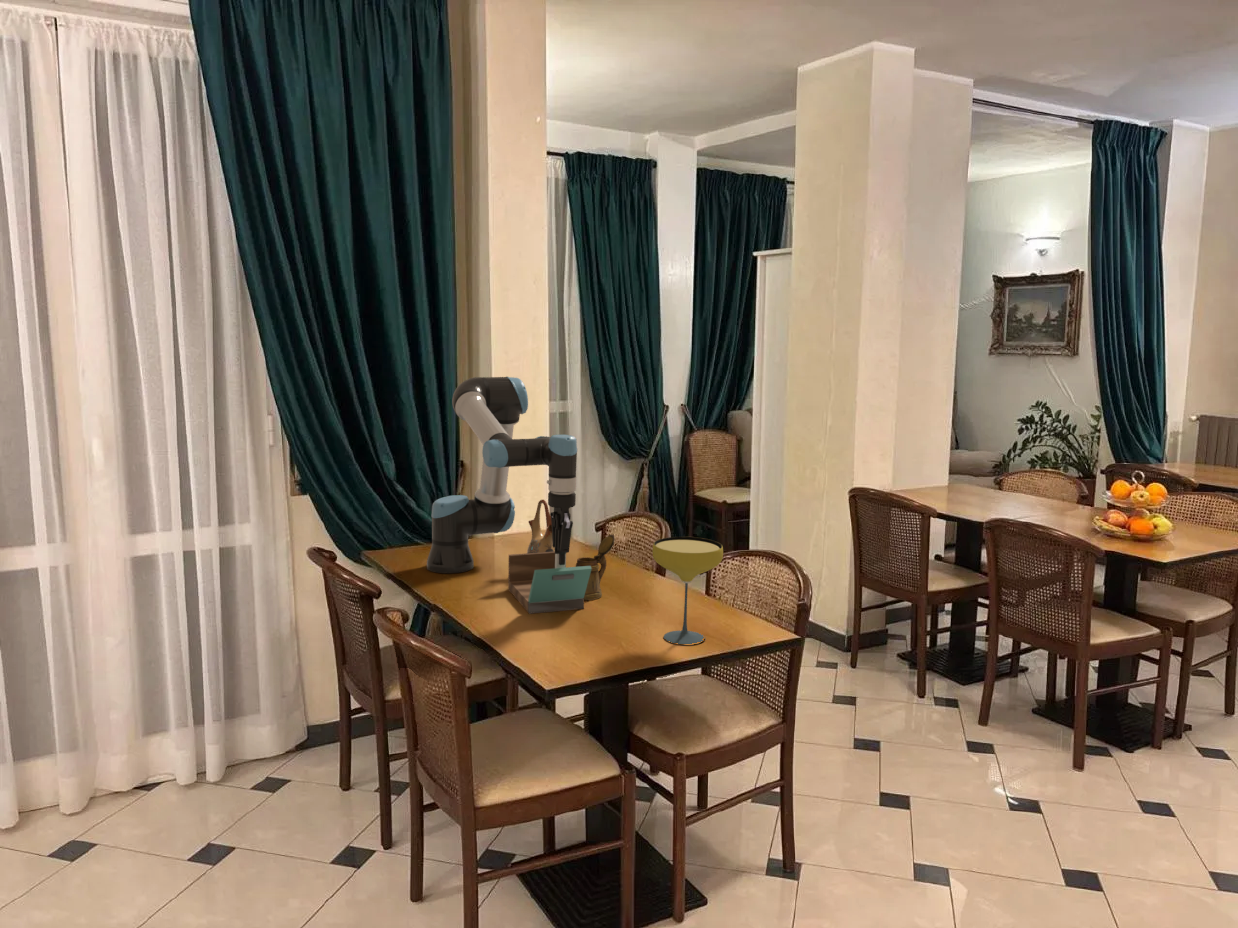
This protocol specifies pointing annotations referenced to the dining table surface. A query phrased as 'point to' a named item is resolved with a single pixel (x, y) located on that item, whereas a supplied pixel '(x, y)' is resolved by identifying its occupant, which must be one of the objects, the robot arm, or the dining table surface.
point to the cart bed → (522, 581)
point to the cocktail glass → (686, 570)
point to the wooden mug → (596, 568)
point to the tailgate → (559, 584)
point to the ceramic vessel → (538, 539)
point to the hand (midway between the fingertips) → (560, 575)
